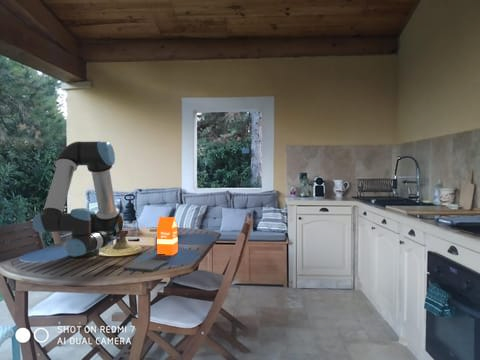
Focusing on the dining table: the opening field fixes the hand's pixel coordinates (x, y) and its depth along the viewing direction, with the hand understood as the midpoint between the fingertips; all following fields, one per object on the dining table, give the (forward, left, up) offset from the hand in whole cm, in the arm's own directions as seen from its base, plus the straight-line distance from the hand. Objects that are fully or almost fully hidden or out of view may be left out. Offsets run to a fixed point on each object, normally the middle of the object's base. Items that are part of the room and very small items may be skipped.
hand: (127, 230), depth 185 cm
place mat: (+16, -8, -15) cm, 23 cm away
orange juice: (+14, +17, -15) cm, 27 cm away
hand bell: (0, -5, -8) cm, 10 cm away
